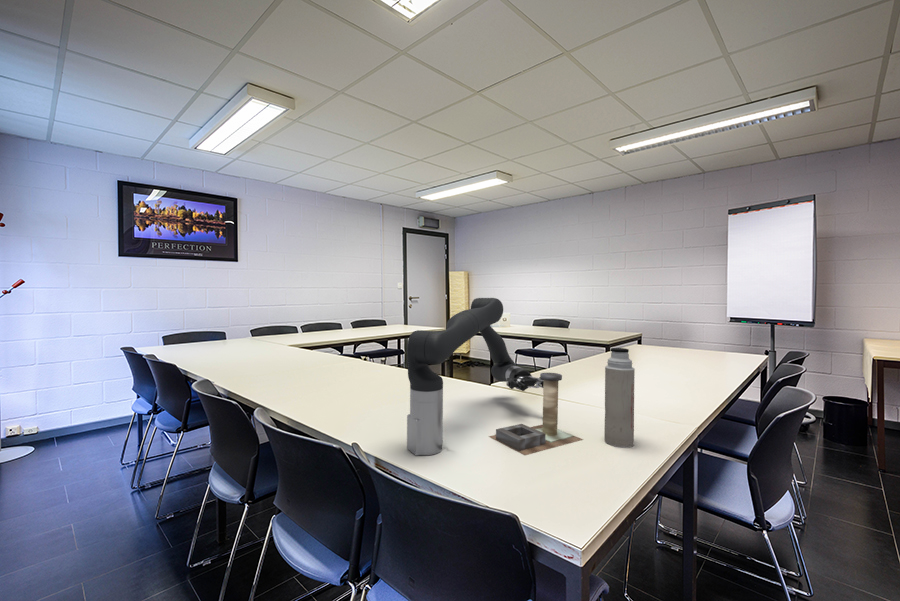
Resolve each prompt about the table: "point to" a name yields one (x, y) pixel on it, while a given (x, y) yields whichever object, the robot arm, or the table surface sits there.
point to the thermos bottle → (619, 399)
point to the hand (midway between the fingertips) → (536, 387)
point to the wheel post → (550, 402)
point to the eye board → (531, 438)
